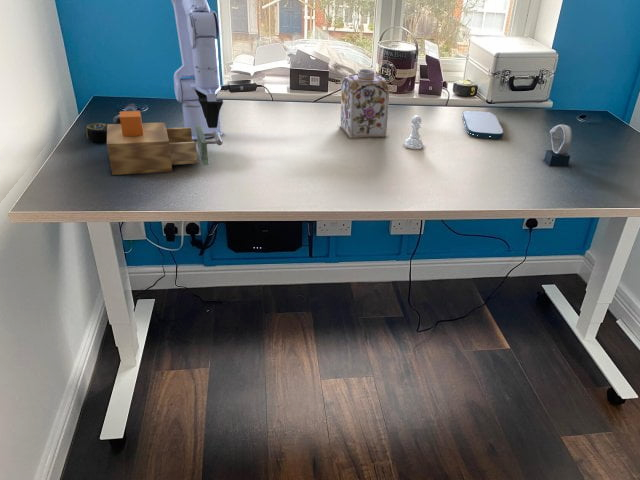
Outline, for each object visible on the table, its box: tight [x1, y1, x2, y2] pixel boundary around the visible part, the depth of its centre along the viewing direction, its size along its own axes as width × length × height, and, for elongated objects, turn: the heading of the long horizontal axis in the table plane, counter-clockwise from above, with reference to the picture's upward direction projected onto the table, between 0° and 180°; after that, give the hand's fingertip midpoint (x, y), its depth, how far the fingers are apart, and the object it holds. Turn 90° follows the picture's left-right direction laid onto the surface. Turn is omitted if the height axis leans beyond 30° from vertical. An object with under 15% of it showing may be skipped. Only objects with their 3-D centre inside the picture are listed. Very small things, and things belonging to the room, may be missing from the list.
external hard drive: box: [461, 110, 505, 140], centre depth 196 cm, size 24×12×2 cm, turn 0°
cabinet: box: [106, 121, 173, 176], centre depth 148 cm, size 14×15×8 cm
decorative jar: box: [340, 68, 390, 139], centre depth 179 cm, size 12×12×18 cm
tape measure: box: [84, 122, 108, 143], centre depth 160 cm, size 7×7×4 cm
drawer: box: [166, 125, 223, 166], centre depth 152 cm, size 17×13×6 cm
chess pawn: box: [404, 115, 424, 150], centre depth 173 cm, size 5×5×9 cm
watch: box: [543, 123, 572, 167], centre depth 170 cm, size 6×8×11 cm
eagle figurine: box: [112, 103, 138, 124], centre depth 168 cm, size 8×7×9 cm
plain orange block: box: [119, 110, 143, 136], centre depth 145 cm, size 5×5×5 cm
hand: (210, 122), depth 151 cm, fingers open, 7 cm apart
